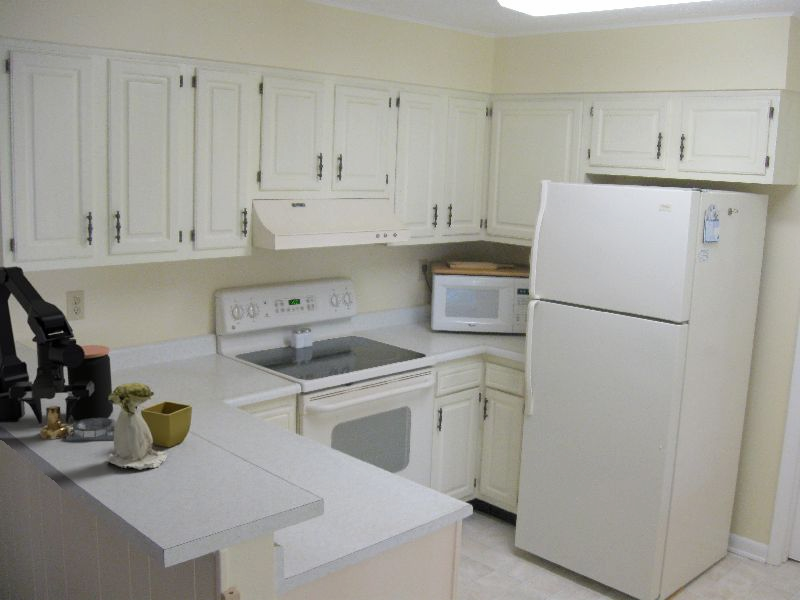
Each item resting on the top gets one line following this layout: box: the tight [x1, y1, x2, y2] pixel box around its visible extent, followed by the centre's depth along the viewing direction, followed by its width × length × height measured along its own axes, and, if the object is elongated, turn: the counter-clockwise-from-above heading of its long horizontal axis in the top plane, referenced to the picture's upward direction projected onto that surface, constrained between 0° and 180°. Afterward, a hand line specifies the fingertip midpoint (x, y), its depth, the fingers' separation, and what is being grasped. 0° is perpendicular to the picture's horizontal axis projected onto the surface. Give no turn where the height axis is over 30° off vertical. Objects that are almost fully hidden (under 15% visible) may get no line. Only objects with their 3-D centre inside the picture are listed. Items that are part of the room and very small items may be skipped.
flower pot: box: [140, 400, 193, 448], centre depth 205 cm, size 9×9×9 cm
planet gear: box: [39, 405, 70, 440], centre depth 210 cm, size 6×6×7 cm
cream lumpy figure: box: [106, 382, 168, 471], centre depth 191 cm, size 12×13×18 cm
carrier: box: [65, 417, 117, 442], centre depth 212 cm, size 19×10×2 cm, turn 96°
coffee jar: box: [66, 344, 114, 422], centre depth 224 cm, size 11×11×18 cm
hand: (54, 423), depth 210 cm, fingers open, 6 cm apart
